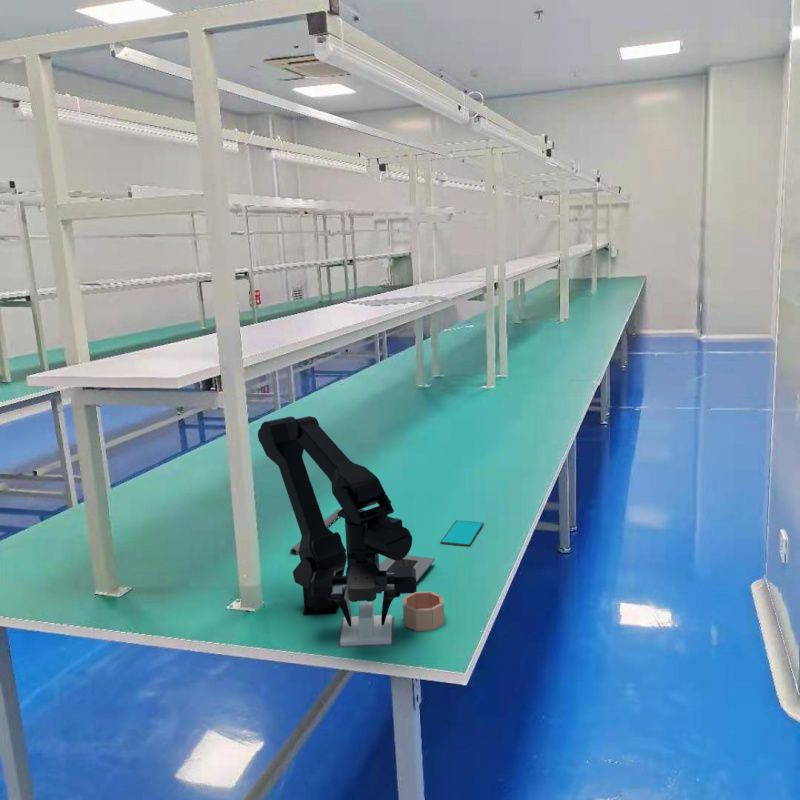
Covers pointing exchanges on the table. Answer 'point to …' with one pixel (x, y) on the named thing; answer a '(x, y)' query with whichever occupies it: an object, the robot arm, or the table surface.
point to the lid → (366, 628)
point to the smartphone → (462, 533)
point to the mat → (368, 645)
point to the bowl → (423, 611)
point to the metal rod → (327, 523)
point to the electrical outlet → (408, 564)
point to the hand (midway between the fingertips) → (366, 624)
